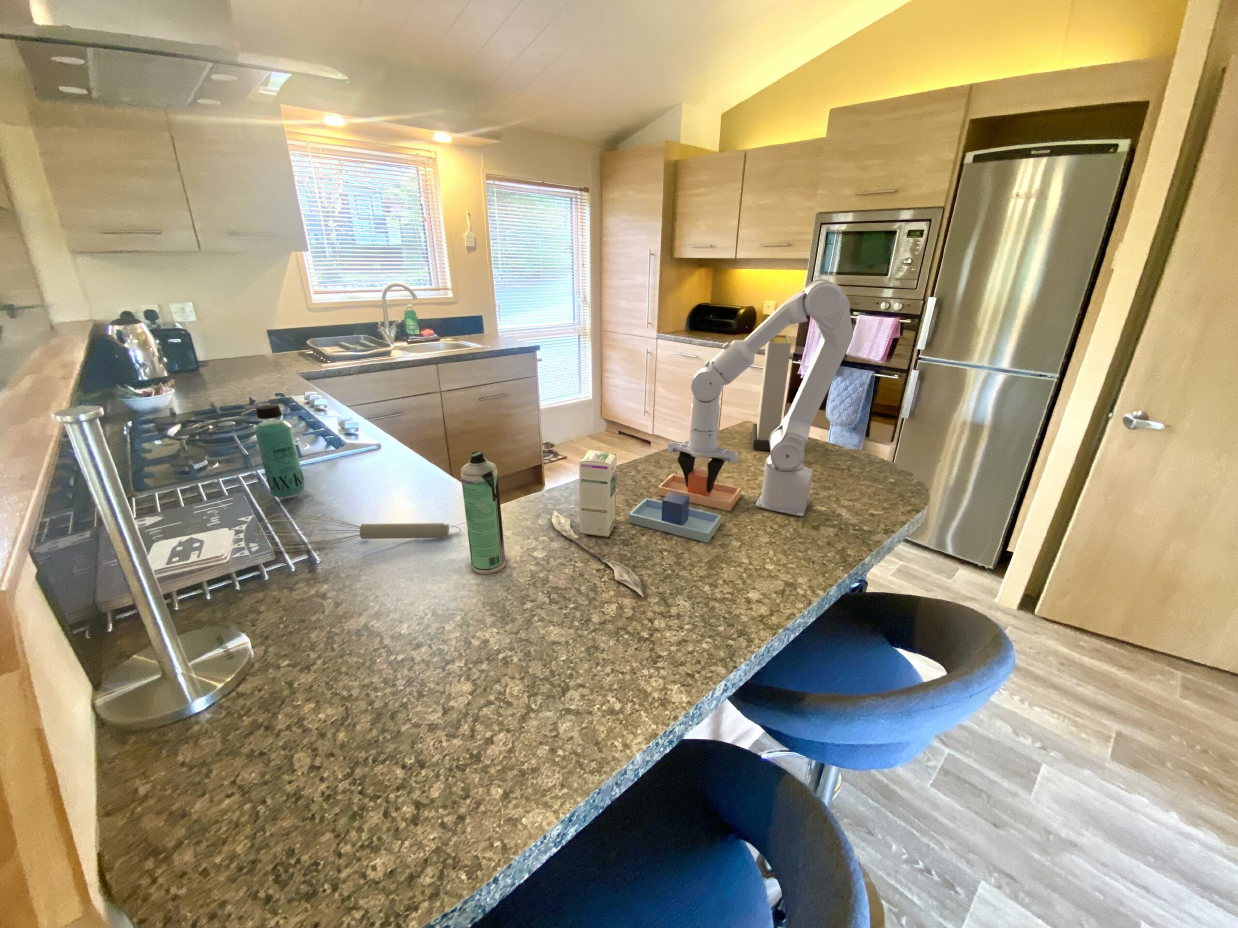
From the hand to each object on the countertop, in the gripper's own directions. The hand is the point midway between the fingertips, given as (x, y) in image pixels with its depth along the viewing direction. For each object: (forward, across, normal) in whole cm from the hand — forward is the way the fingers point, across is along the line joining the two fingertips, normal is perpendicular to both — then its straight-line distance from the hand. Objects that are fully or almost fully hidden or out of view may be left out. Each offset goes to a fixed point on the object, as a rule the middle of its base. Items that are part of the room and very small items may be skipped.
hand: (699, 488), depth 110 cm
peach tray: (+2, 0, 0) cm, 2 cm away
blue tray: (+2, 0, -14) cm, 14 cm away
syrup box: (+2, -12, -23) cm, 26 cm away
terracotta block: (+1, 0, 0) cm, 1 cm away
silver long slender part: (+2, -9, -30) cm, 31 cm away
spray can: (+2, -22, -42) cm, 47 cm away
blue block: (+1, 0, -14) cm, 14 cm away
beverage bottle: (+2, -76, -42) cm, 87 cm away
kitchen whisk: (+2, -47, -47) cm, 66 cm away
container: (+2, +5, +41) cm, 41 cm away
